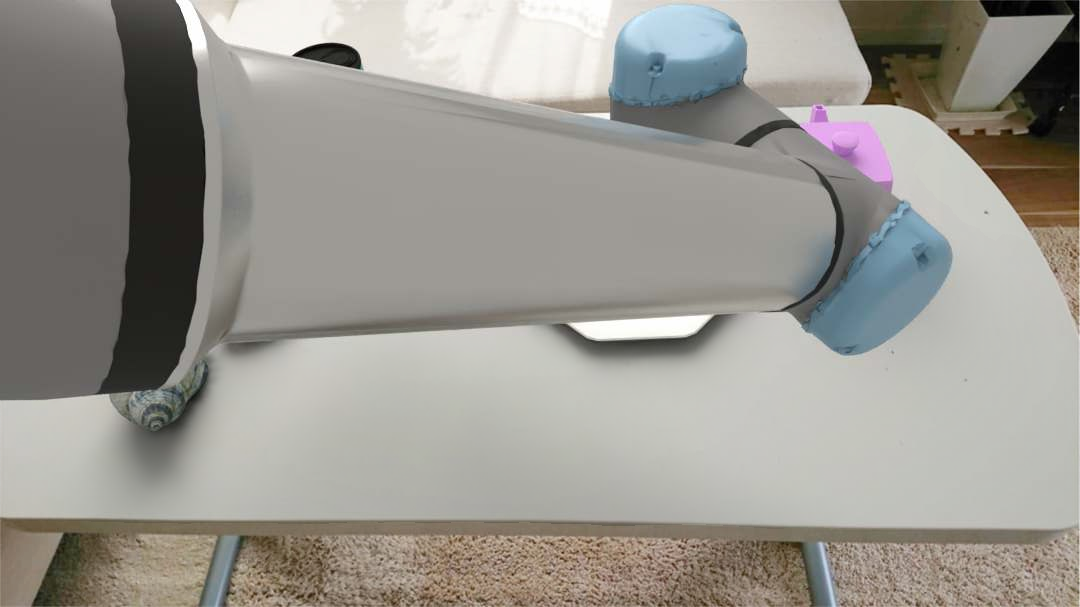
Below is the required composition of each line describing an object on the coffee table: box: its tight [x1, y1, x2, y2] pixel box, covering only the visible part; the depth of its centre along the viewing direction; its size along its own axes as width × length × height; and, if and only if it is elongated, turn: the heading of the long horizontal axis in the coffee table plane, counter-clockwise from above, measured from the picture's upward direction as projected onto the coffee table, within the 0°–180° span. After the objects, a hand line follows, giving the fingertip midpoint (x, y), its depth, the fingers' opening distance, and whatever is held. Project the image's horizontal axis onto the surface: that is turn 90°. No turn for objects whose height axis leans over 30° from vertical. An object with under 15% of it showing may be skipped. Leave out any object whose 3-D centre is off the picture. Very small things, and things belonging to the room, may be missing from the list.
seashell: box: [108, 357, 209, 432], centre depth 71 cm, size 6×8×12 cm
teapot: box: [798, 104, 894, 194], centre depth 81 cm, size 18×10×10 cm, turn 179°
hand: (294, 120), depth 64 cm, fingers closed on beverage can, 6 cm apart
